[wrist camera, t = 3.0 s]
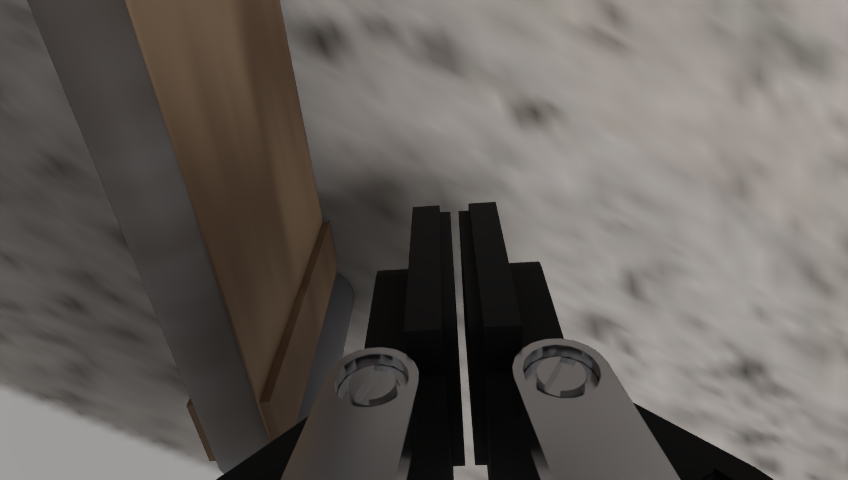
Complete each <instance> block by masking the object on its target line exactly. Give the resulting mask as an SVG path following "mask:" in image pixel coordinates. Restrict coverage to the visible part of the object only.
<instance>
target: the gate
mask: <svg viewBox="0 0 848 480" xmlns="http://www.w3.org/2000/svg"><path fill="white" fill-rule="evenodd" d="M27 1H28V3H29V6H30V8H31V11H32V13H33V15H34V18H35V20H36V23H37V25H38V28H39V30H40V33H41V35H42V37H43V40H44V42H45V45H46V47H47V50H48V52H49V54H50V57H51V59H52V62H53V64H54V67H55V69H56V72H57V74H58V76H59V79H60V81H61V84H62V86H63V89H64V91H65V94H66V96H67V98H68V101H69V103H70V106H71V108H72V111H73V113H74V115H75V118H76V120H77V123H78V125H79V128H80V130H81V133H82V135H83V137H84V140H85V142H86V145H87V147H88V150H89V152H90V154H91V157H92V159H93V162H94V164H95V167H96V169H97V172H98V174H99V176H100V179H101V181H102V184H103V186H104V189H105V191H106V193H107V196H108V198H109V201H110V203H111V206H112V208H113V211H114V213H115V215H116V218H117V220H118V223H119V225H120V228H121V230H122V232H123V235H124V237H125V240H126V242H127V245H128V247H129V250H130V252H131V254H132V257H133V259H134V262H135V264H136V267H137V269H138V271H139V274H140V276H141V279H142V281H143V284H144V286H145V289H146V291H147V293H148V296H149V298H150V301H151V303H152V306H153V308H154V311H155V313H156V315H157V318H158V320H159V323H160V325H161V328H162V330H163V332H164V335H165V337H166V340H167V342H168V345H169V347H170V350H171V352H172V354H173V357H174V359H175V362H176V364H177V367H178V369H179V371H180V374H181V376H182V379H183V381H184V384H185V386H186V389H187V391H188V393H189V396H190V400H189V402H188V404H187V408H188V410H189V413H190V415H191V417H192V420H193V422H194V425H195V427H196V429H197V432H198V434H199V437H200V439H201V441H202V444H203V446H204V448H205V451H206V453H207V456H208V458H209V460H210V461H216V462H217V464H218V467H219V469H220V470H221V471H222V472H223V473H224V474H225V473H227V472H228V471H229V470H231V469H232V468H234V467H235V466H237V465H238V464H240V463H241V462H242V461H244V460H245V459H247V458H248V457H250V456H251V455H253V454H254V453H256V452H257V451H258V450H260V449H261V448H263V447H264V446H266V445H267V444H269V443H270V442H272V441H273V440H274V439H276V438H277V437H279V436H280V435H282V434H283V433H285V432H286V431H287V430H289V429H290V428H292V427H293V426H295V425H296V422H297V418H298V415H299V411H300V407H301V403H302V400H303V396H304V392H305V388H306V385H307V381H308V377H309V373H310V370H311V366H312V362H313V359H314V355H315V351H316V347H317V344H318V340H319V336H320V332H321V329H322V325H323V321H324V317H325V314H326V310H327V306H328V302H329V299H330V295H331V291H332V287H333V284H334V280H335V276H336V272H337V269H338V263H337V258H336V253H335V248H334V242H333V237H332V232H331V226H330V221H327V222H323V220H322V215H321V210H320V205H319V199H318V194H317V189H316V184H315V179H314V174H313V169H312V164H311V159H310V154H309V148H308V143H307V138H306V133H305V128H304V123H303V118H302V113H301V108H300V102H299V97H298V92H297V87H296V82H295V77H294V72H293V67H292V62H291V57H290V51H289V46H288V41H287V36H286V31H285V26H284V21H283V16H282V11H281V5H280V0H27Z"/></svg>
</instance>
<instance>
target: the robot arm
mask: <svg viewBox="0 0 848 480" xmlns="http://www.w3.org/2000/svg"><path fill="white" fill-rule="evenodd" d="M459 228H460V247H461V265H462V284H463V303H464V321H465V336H466V349H467V363H468V376H469V389H470V403H471V416H472V429H473V443H474V456H475V465H487V468H488V479H489V480H773V479H772V478H770V477H769V476H767V475H766V474H764V473H763V472H761V471H760V470H758V469H757V468H755V467H753V466H751V465H750V464H748V463H746V462H744V461H742V460H740V459H738V458H736V457H735V456H733V455H731V454H729V453H727V452H725V451H723V450H721V449H719V448H718V447H716V446H714V445H712V444H710V443H708V442H706V441H704V440H703V439H701V438H699V437H697V436H695V435H693V434H691V433H689V432H688V431H686V430H684V429H682V428H680V427H678V426H676V425H674V424H672V423H671V422H669V421H667V420H665V419H663V418H661V417H659V416H657V415H656V414H654V413H652V412H650V411H648V410H646V409H644V408H642V407H641V406H639V405H637V404H635V403H633V402H632V400H631V399H630V397H629V396H628V394H627V392H626V391H625V389H624V388H623V386H622V384H621V383H620V381H619V380H618V378H617V376H616V375H615V373H614V371H613V370H612V368H611V367H610V365H609V363H608V362H607V361H606V360H605V359H604V357H603V356H602V355H601V354H600V353H599V352H597V351H596V350H594V349H593V348H591V347H589V346H588V345H585V344H582V343H580V342H577V341H574V340H567V339H564V338H563V335H562V331H561V328H560V325H559V322H558V318H557V315H556V312H555V309H554V305H553V302H552V299H551V296H550V293H549V289H548V286H547V283H546V280H545V276H544V273H543V270H542V267H541V264H540V262H521V263H509V262H508V257H507V252H506V248H505V243H504V239H503V234H502V229H501V225H500V220H499V216H498V211H497V206H496V202H488V203H472V204H469V211H459ZM453 466H465V454H464V437H463V419H462V401H461V384H460V366H459V348H458V331H457V314H456V298H455V282H454V266H453V250H452V233H451V217H450V212H440V207H439V206H425V207H413V212H412V226H411V239H410V253H409V266H408V269H400V270H383V271H378V272H377V275H376V280H375V287H374V293H373V299H372V305H371V311H370V317H369V323H368V330H367V336H366V342H365V348H364V349H363V350H359V351H356V352H353V353H351V354H349V355H347V356H345V357H343V358H342V359H341V360H340V361H338V362H337V363H336V364H335V365H334V366H333V367H332V368H331V370H330V371H329V373H328V374H327V376H326V378H325V380H324V382H323V385H322V387H321V389H320V392H319V394H318V396H317V398H316V401H315V403H314V405H313V407H312V410H311V412H310V414H309V416H308V417H306V418H305V419H303V420H302V421H301V422H299V423H298V424H296V425H295V426H293V427H292V428H290V429H289V430H287V431H286V432H285V433H283V434H282V435H280V436H279V437H277V438H276V439H274V440H273V441H272V442H270V443H269V444H267V445H266V446H264V447H263V448H261V449H260V450H258V451H257V452H256V453H254V454H253V455H251V456H250V457H248V458H247V459H245V460H244V461H242V462H241V463H240V464H238V465H237V466H235V467H234V468H232V469H231V470H229V471H228V472H227V473H225V474H224V475H222V476H221V477H219V478H218V479H217V480H454V476H453Z"/></svg>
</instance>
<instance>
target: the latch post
mask: <svg viewBox="0 0 848 480" xmlns="http://www.w3.org/2000/svg"><path fill="white" fill-rule="evenodd" d="M353 302H354V293H353V289H352V287H351V286H350V284H349V283H348V282H347V281H346V280H345V279H344V278H343V277H342V276H340V275H338V274H336V276H335V280H334V284H333V287H332V291H331V295H330V299H329V302H328V306H327V310H326V314H325V317H324V321H323V325H322V329H321V332H320V336H319V340H318V344H317V347H316V351H315V355H314V359H313V362H312V366H311V370H310V373H309V377H308V381H307V385H306V388H305V392H304V396H303V400H302V403H301V407H300V411H299V415H298V418H297V422H296V424H298V423H299V422H301V421H302V420H303V419H305V418H306V417H308V416H309V414H310V412H311V410H312V407H313V405H314V403H315V401H316V398H317V396H318V394H319V392H320V389H321V387H322V385H323V382H324V380H325V378H326V376H327V374H328V373H329V371H330V370H331V368H332V367H333V366H334V365H335V364H336V363H337V362H338V361H340V360H341V359H342V356H343V351H344V346H345V341H346V336H347V331H348V326H349V321H350V316H351V312H352V307H353Z"/></svg>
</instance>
